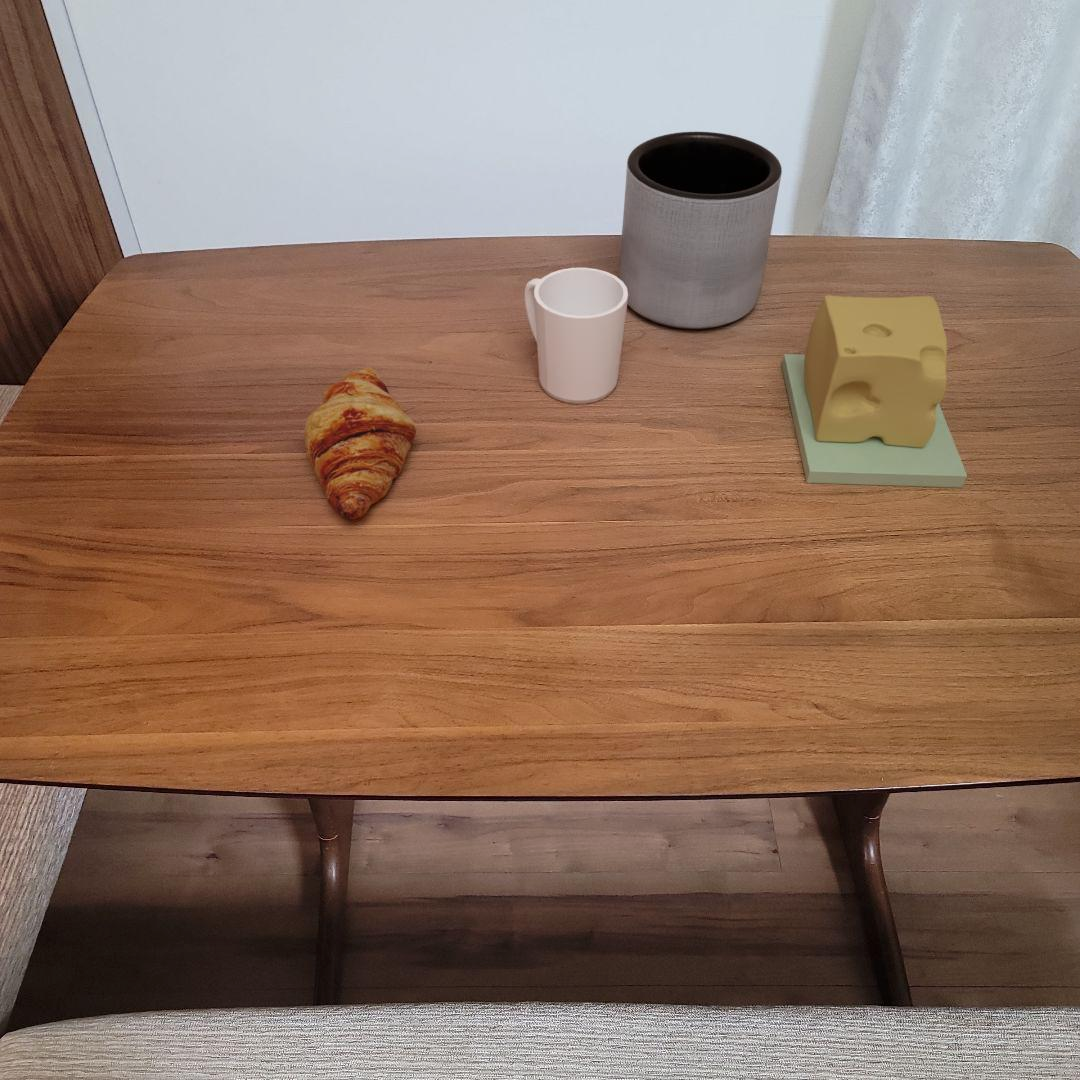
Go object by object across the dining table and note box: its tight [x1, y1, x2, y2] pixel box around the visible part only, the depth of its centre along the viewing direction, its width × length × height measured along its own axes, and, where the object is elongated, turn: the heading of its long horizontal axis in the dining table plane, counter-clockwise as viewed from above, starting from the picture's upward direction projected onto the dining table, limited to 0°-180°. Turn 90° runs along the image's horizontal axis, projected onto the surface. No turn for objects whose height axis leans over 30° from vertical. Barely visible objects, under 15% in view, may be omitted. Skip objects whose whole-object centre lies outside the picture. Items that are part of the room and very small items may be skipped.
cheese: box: [804, 294, 948, 448], centre depth 85 cm, size 10×11×10 cm
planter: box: [617, 131, 783, 330], centre depth 100 cm, size 16×16×16 cm
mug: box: [523, 267, 628, 405], centre depth 92 cm, size 11×9×10 cm
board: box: [781, 353, 968, 489], centre depth 90 cm, size 18×14×2 cm
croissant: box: [303, 366, 417, 521], centre depth 85 cm, size 21×10×8 cm, turn 5°
